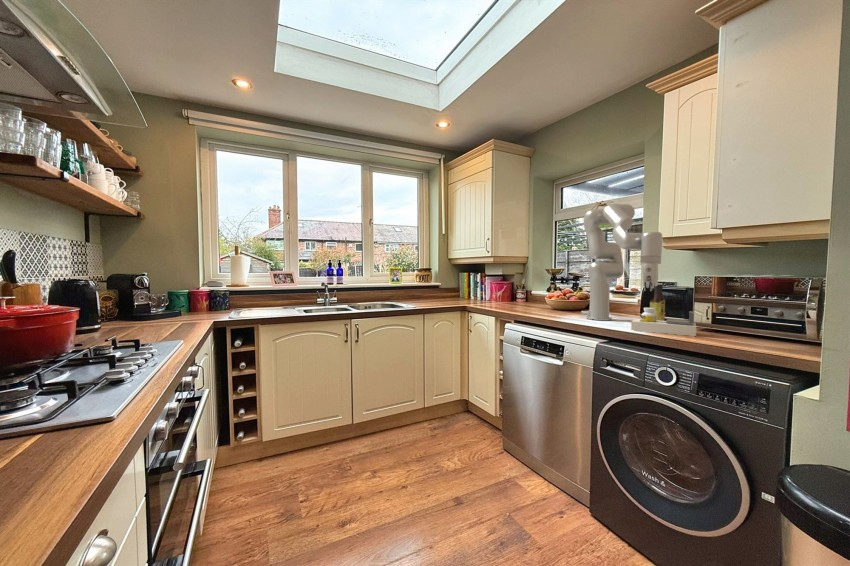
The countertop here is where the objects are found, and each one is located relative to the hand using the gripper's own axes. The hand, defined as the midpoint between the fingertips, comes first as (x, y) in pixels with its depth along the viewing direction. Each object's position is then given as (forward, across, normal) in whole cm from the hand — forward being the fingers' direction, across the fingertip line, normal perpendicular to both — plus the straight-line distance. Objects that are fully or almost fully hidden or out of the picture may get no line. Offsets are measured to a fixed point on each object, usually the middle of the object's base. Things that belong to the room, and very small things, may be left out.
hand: (648, 299), depth 149 cm
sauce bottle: (+14, +28, -2) cm, 32 cm away
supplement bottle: (+14, -1, -1) cm, 14 cm away
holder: (+13, -1, -6) cm, 15 cm away
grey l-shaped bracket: (+9, -1, -11) cm, 14 cm away
